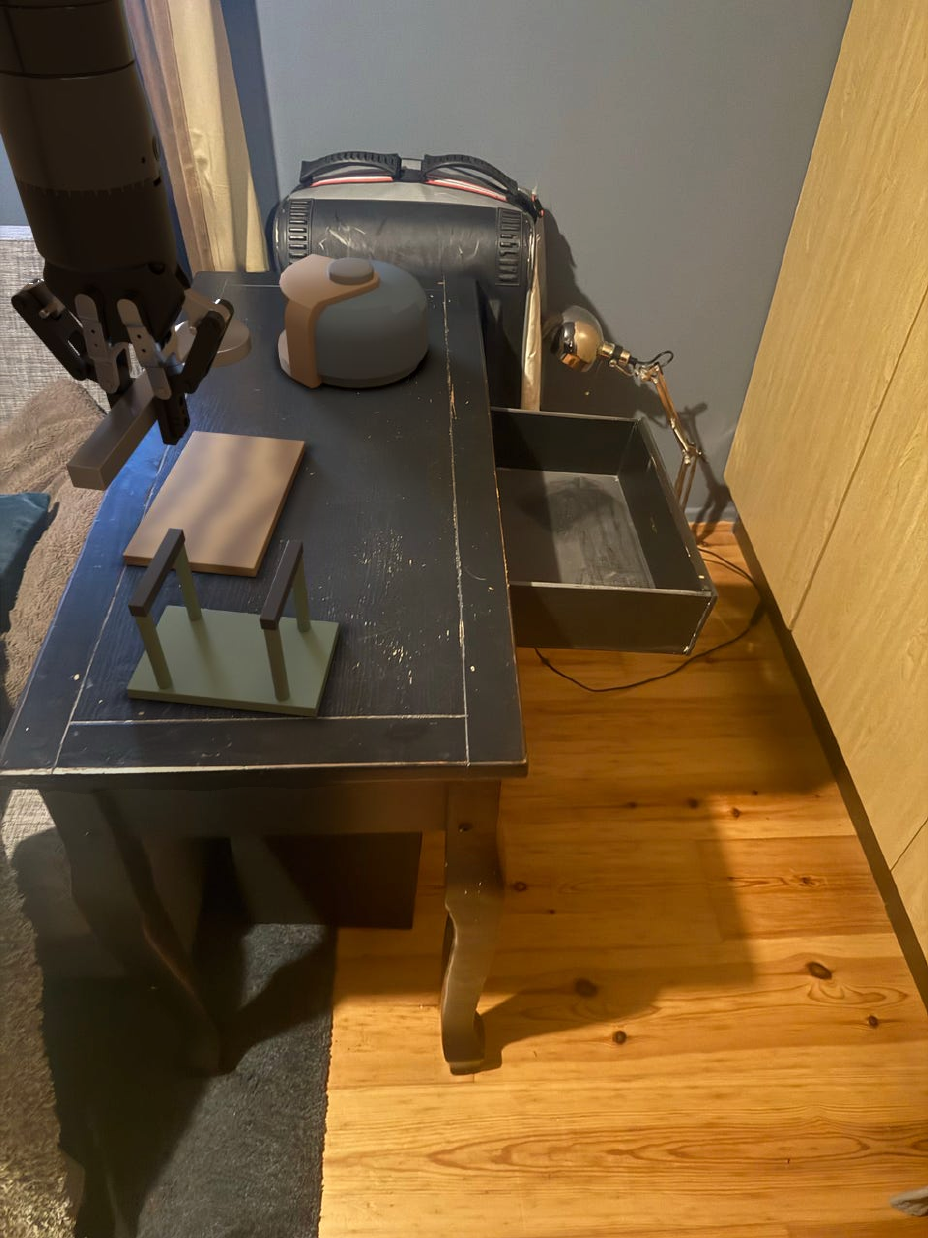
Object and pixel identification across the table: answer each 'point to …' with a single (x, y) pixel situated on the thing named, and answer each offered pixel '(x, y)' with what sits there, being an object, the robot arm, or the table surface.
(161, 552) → the rack
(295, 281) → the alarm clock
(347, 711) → the table surface
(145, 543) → the board
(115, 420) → the ladle
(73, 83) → the robot arm
